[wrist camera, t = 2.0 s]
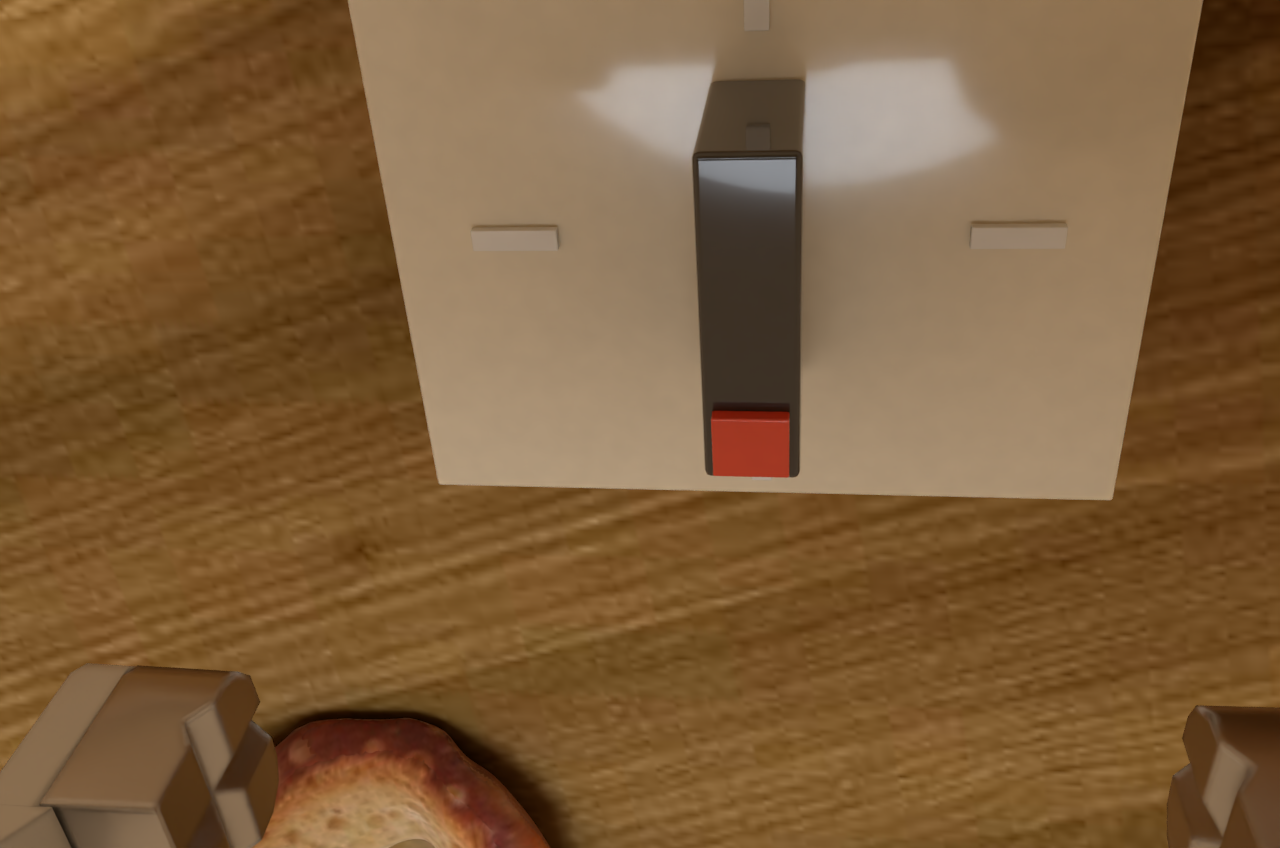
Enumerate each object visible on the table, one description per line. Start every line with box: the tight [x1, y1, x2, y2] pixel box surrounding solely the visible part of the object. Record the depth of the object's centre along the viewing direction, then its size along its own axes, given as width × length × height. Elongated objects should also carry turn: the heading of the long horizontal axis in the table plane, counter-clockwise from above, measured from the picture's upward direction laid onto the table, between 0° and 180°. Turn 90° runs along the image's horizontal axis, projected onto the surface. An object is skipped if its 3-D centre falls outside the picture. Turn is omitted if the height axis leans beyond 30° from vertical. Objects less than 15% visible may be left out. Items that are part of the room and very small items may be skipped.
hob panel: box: [348, 0, 1203, 500], centre depth 20 cm, size 12×10×3 cm
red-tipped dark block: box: [692, 79, 806, 478], centre depth 18 cm, size 5×1×3 cm, turn 3°
